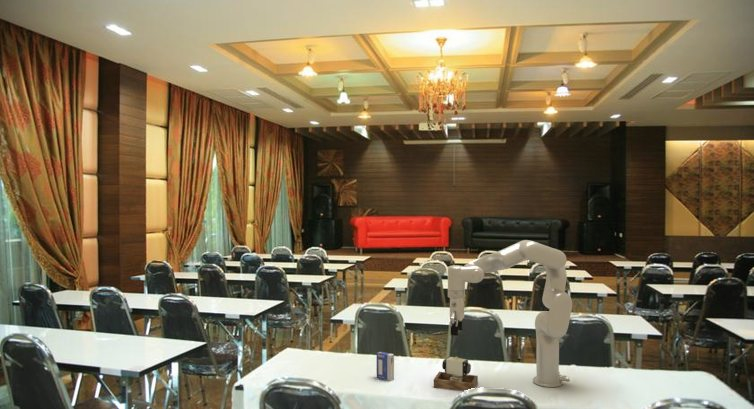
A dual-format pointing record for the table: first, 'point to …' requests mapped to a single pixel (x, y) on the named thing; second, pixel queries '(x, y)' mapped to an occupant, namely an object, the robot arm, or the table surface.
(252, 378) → the table surface
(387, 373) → the walkman
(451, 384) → the wooden tray
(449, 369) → the pneumatic valve
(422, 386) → the table surface
